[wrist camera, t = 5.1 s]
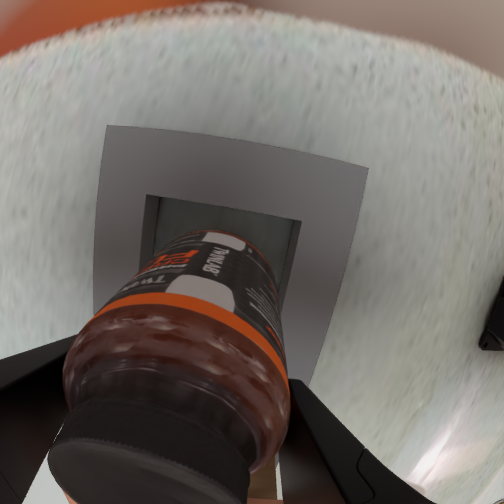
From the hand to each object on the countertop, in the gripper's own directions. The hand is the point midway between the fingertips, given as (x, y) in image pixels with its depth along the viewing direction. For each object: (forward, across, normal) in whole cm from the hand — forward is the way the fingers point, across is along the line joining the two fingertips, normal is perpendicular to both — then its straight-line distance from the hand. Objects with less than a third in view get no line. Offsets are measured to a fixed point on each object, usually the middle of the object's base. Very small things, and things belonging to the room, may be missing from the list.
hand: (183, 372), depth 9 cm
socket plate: (+10, 0, +4) cm, 11 cm away
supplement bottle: (+7, 0, 0) cm, 7 cm away
